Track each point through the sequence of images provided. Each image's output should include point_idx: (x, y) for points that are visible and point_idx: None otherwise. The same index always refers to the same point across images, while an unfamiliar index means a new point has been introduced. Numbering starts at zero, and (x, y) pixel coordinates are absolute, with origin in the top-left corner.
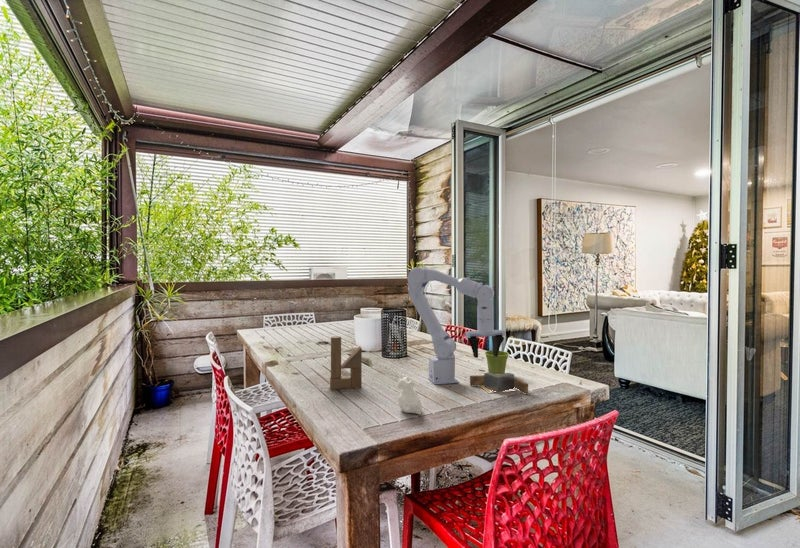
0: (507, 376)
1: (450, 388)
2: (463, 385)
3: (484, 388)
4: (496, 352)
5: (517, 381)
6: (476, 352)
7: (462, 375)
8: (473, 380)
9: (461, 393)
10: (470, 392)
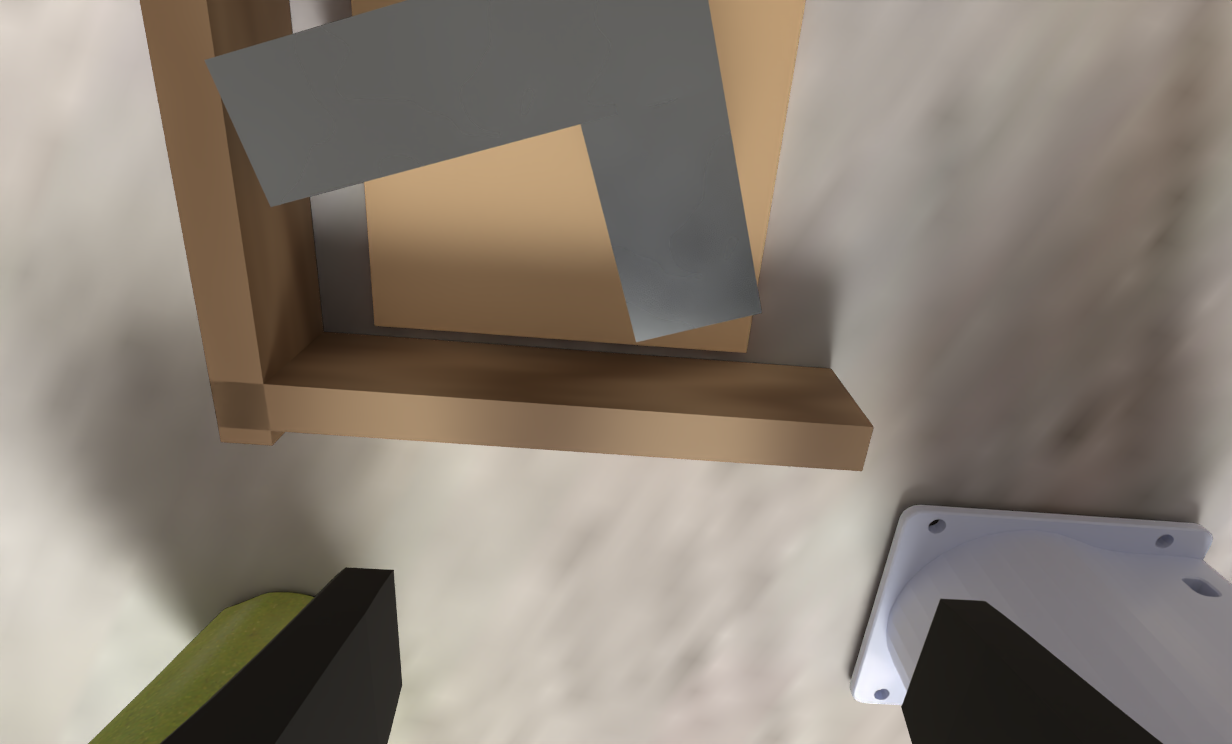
0: (403, 6)
1: (1130, 360)
2: (902, 420)
3: (753, 196)
4: (340, 642)
5: (221, 16)
6: (1114, 712)
7: (688, 714)
8: (823, 396)
9: (1158, 125)
10: (1014, 129)
